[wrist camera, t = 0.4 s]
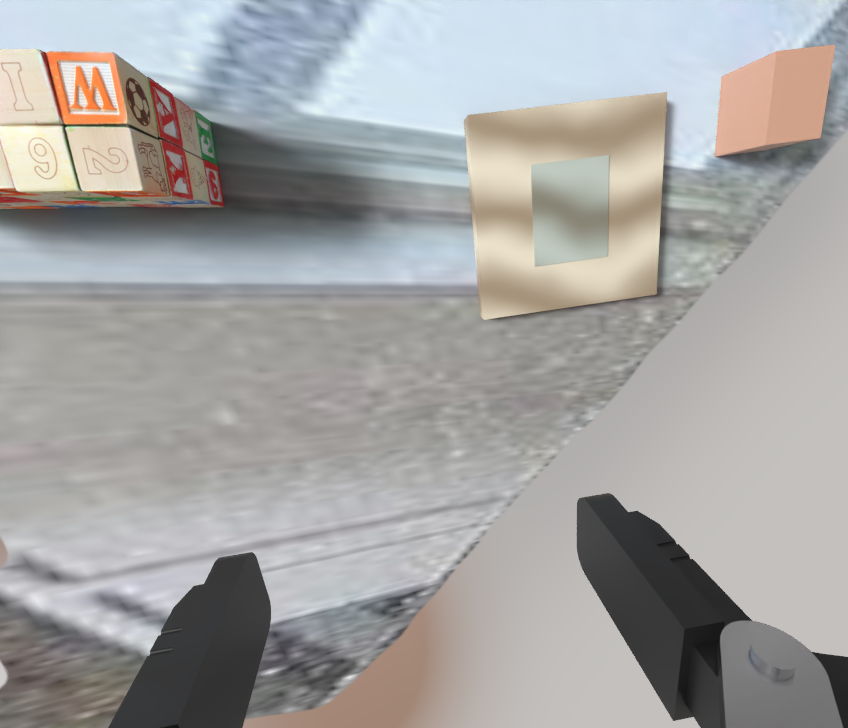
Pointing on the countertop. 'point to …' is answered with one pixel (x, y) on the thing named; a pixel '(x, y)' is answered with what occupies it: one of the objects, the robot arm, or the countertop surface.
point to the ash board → (566, 203)
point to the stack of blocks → (98, 136)
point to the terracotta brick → (774, 101)
